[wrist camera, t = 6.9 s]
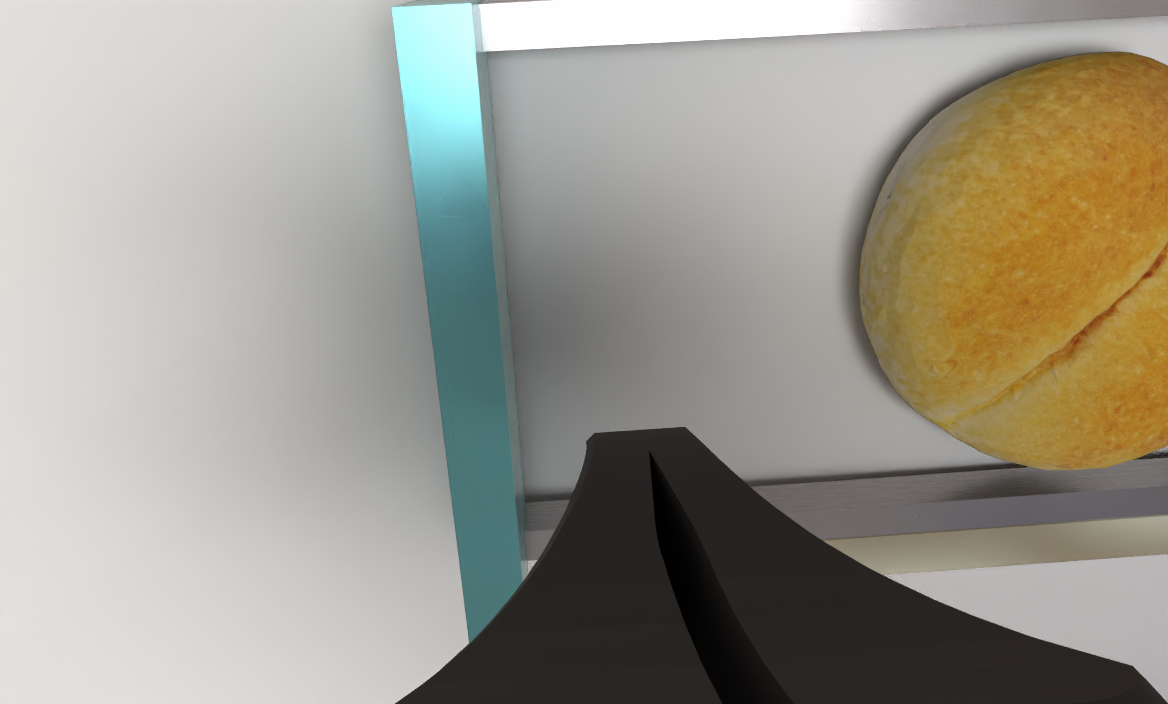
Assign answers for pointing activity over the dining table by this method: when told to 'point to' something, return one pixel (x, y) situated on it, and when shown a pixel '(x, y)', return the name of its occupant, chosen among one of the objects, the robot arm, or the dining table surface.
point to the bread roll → (1032, 265)
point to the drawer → (480, 300)
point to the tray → (1008, 545)
